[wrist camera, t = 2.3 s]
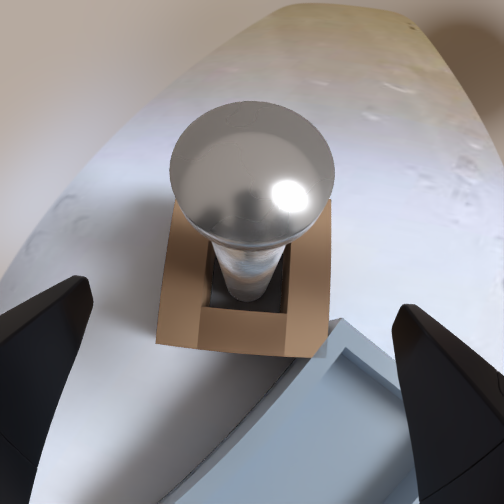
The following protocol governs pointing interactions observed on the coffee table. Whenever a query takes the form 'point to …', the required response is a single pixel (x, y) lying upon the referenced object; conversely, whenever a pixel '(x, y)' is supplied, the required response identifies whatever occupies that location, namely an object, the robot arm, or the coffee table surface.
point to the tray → (316, 436)
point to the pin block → (238, 321)
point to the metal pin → (251, 186)
